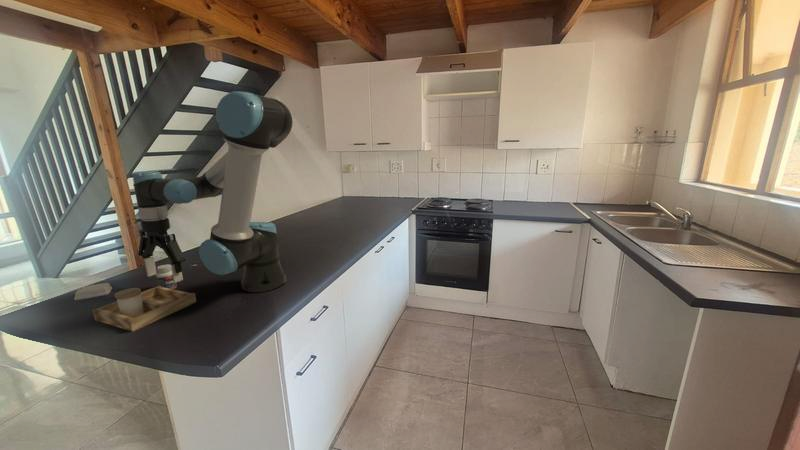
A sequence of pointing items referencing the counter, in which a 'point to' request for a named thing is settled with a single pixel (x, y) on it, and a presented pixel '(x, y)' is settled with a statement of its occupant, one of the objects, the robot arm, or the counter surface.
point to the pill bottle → (165, 277)
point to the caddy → (146, 308)
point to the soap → (93, 291)
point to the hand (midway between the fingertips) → (165, 278)
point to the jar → (130, 302)
